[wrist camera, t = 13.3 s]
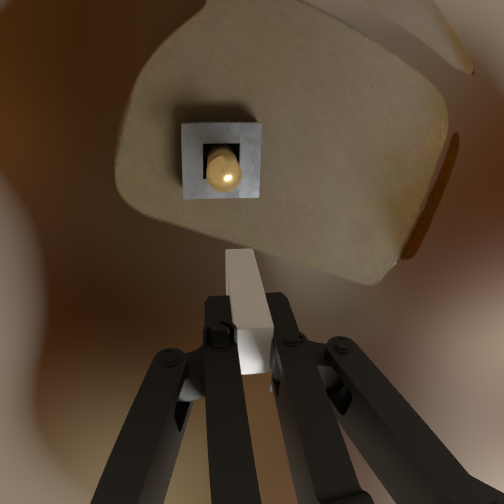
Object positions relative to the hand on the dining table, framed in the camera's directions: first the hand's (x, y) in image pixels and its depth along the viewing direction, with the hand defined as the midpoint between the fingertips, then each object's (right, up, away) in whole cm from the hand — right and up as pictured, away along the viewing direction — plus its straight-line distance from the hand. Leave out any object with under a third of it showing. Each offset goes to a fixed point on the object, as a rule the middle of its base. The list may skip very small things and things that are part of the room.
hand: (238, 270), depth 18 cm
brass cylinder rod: (-4, +17, +32) cm, 36 cm away
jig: (-5, +17, +32) cm, 36 cm away
